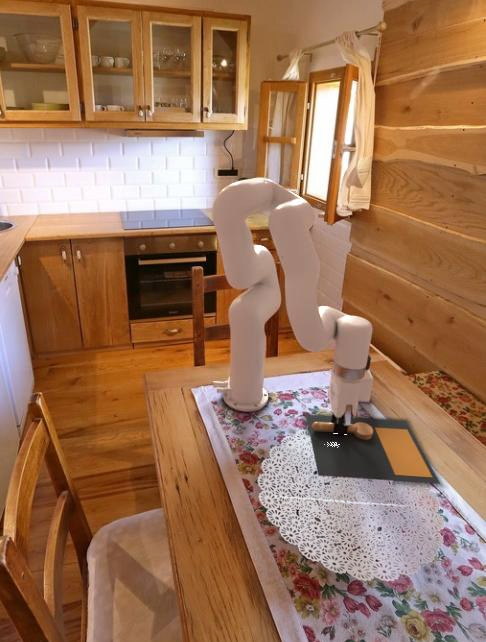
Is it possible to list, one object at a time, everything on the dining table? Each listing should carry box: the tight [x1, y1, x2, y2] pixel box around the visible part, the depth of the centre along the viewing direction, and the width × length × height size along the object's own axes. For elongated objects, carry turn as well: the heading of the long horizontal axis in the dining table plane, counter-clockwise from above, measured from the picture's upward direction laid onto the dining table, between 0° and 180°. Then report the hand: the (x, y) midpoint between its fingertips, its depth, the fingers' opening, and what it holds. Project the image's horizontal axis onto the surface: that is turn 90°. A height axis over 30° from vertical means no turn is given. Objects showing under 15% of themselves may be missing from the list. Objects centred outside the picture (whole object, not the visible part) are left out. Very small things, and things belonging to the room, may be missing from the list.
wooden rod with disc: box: [312, 422, 373, 440], centre depth 101 cm, size 15×5×2 cm, turn 86°
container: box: [359, 353, 374, 403], centre depth 115 cm, size 8×8×13 cm
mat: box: [305, 414, 441, 485], centre depth 98 cm, size 26×20×1 cm
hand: (338, 430), depth 102 cm, fingers closed on wooden rod with disc, 2 cm apart
